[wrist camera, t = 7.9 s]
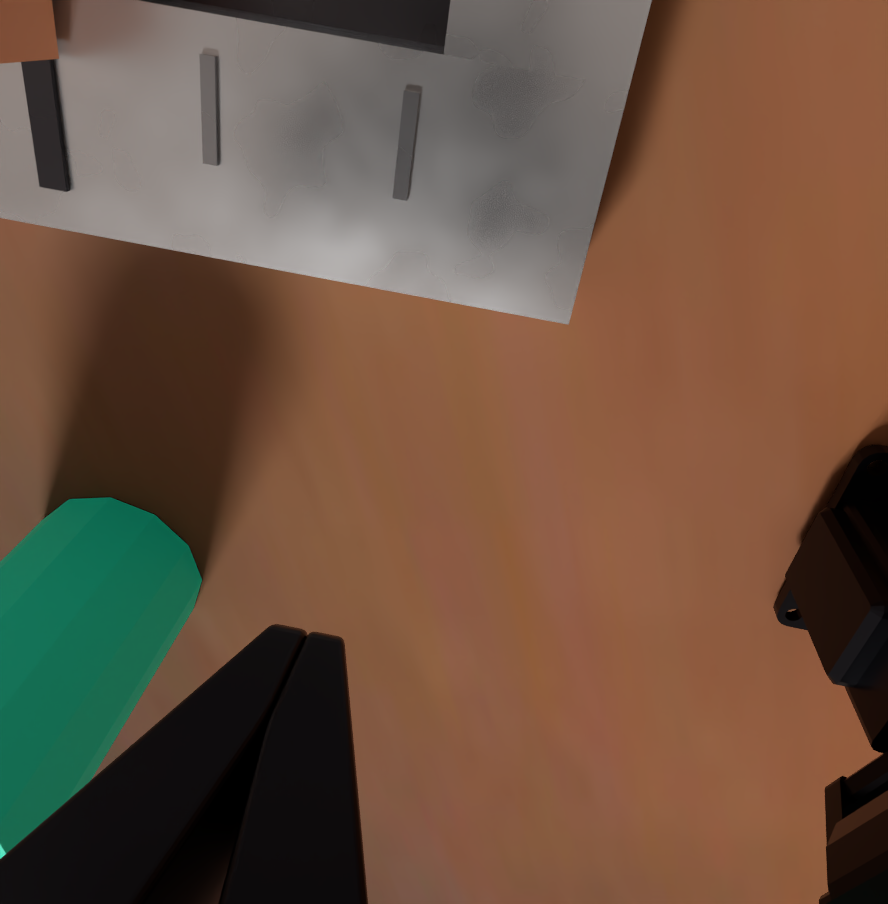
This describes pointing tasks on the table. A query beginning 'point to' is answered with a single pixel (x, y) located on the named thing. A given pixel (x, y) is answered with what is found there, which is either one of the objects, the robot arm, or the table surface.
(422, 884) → the table surface
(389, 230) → the grey slider board
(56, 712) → the candle
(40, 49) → the fader orange
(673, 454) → the table surface
